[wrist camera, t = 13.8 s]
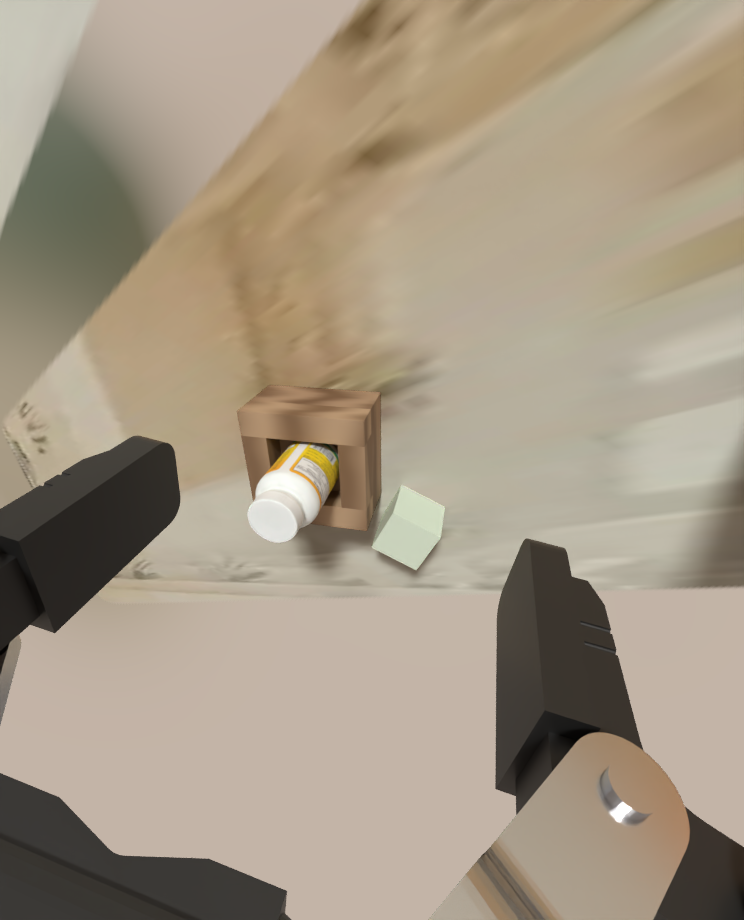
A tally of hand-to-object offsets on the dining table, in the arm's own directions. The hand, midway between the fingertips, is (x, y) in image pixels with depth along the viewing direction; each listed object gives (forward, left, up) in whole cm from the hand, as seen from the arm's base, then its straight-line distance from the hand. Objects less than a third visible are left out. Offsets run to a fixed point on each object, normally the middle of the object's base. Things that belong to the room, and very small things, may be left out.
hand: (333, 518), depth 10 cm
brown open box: (+8, +16, -30) cm, 34 cm away
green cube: (-2, +22, -30) cm, 37 cm away
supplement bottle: (+8, +15, -26) cm, 31 cm away
